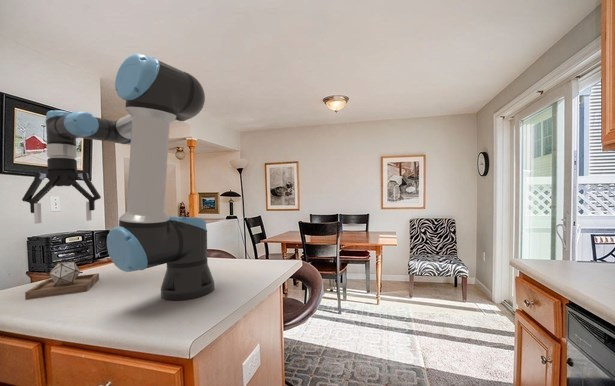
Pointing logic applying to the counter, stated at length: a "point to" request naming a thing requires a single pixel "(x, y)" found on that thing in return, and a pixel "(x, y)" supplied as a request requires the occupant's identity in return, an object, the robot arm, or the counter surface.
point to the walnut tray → (62, 287)
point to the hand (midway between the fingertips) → (64, 221)
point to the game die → (64, 273)
